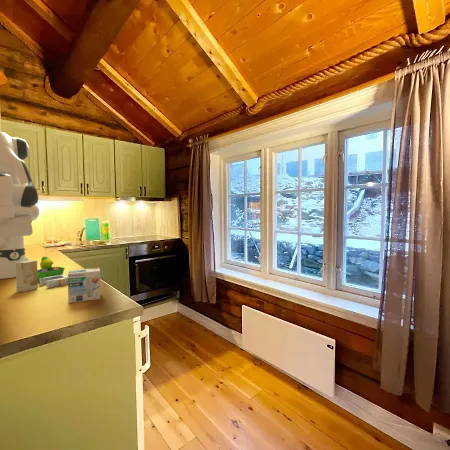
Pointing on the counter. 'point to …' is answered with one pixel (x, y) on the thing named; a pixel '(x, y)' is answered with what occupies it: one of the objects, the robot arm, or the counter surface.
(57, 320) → the counter surface
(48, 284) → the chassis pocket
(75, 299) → the light bulb box
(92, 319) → the counter surface
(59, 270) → the fruit basket
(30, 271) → the skincare box
